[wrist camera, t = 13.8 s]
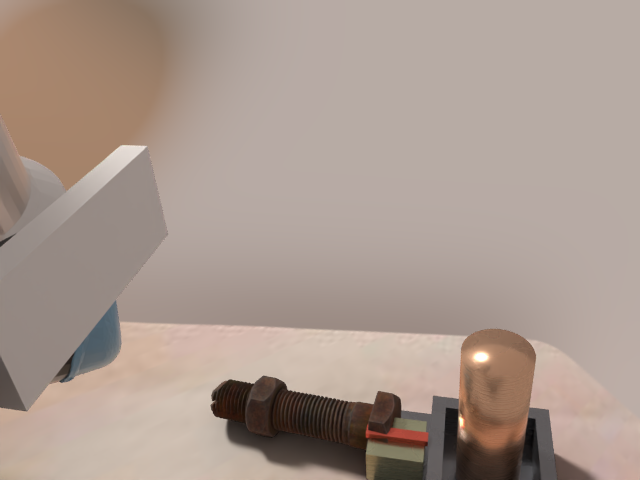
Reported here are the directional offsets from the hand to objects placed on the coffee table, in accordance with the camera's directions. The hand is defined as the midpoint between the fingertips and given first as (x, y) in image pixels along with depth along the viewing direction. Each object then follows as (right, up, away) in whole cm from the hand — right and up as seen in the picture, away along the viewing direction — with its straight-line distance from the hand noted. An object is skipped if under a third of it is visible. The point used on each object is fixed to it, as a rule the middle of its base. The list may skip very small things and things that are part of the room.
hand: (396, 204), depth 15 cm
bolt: (-3, -17, +34) cm, 38 cm away
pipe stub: (+10, -18, +28) cm, 35 cm away
